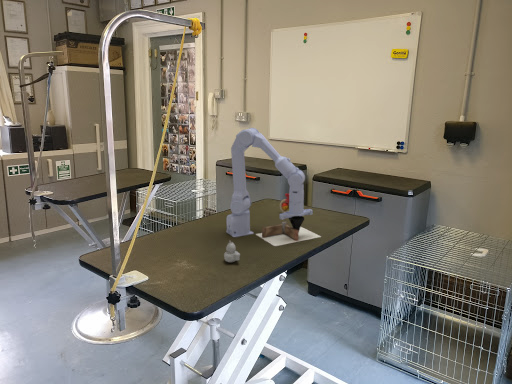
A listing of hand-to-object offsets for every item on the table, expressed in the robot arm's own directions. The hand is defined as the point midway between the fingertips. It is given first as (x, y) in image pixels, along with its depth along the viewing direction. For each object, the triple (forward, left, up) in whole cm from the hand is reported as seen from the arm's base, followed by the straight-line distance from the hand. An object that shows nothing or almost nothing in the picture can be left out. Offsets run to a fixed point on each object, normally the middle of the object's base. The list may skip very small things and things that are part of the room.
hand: (296, 233), depth 163 cm
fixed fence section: (-6, +7, -2) cm, 9 cm away
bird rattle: (+15, +31, -2) cm, 34 cm away
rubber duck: (-33, -9, -2) cm, 34 cm away
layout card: (-2, +4, -2) cm, 4 cm away
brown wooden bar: (-2, +1, -1) cm, 2 cm away
